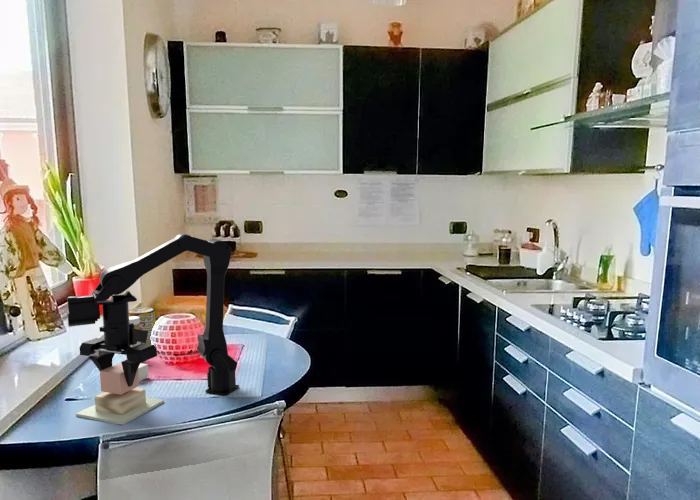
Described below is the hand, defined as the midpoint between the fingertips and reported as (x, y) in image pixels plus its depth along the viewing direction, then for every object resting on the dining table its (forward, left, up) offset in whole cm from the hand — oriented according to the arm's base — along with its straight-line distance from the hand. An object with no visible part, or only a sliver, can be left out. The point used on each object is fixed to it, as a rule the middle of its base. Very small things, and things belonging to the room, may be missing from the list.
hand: (120, 384), depth 135 cm
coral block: (0, 0, -1) cm, 1 cm away
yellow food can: (+33, -45, -6) cm, 56 cm away
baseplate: (0, 0, -6) cm, 6 cm away
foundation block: (0, 0, -6) cm, 6 cm away
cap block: (+11, -18, -6) cm, 22 cm away
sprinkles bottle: (+24, -31, -6) cm, 40 cm away
